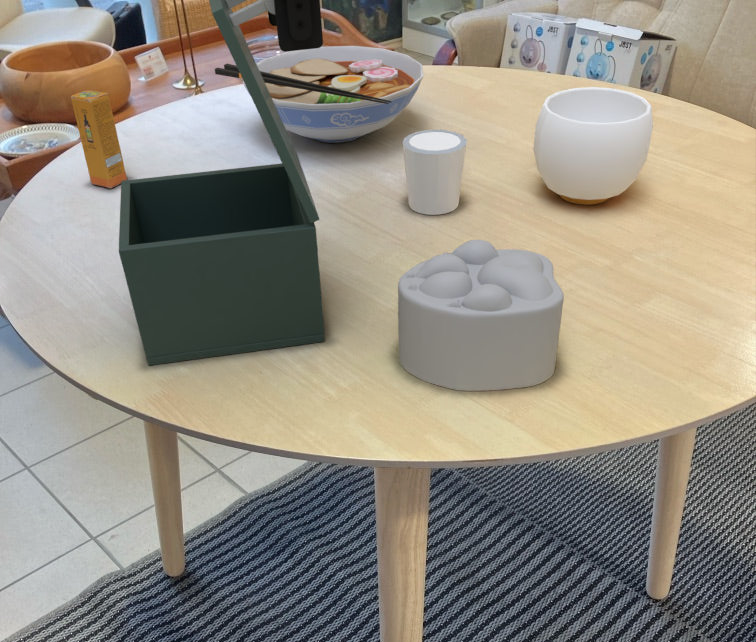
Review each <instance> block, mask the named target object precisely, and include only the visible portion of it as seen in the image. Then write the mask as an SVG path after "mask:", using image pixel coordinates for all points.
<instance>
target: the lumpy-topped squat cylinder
mask: <svg viewBox="0 0 756 642" xmlns="http://www.w3.org/2000/svg"><path fill="white" fill-rule="evenodd" d="M558 283H559V282H557V280H556V279H555V275H554V265H553V262H552V261H551V260H550V259H549V257H547V256H545V255H543V254H541V253H537V252H534V251H530V250H527V249H517V248H516V249H515V248H509V249H508V248H505V249H503V248H502V249H499V248H498V249H496V247H495V246H494V245H493V244H492V243H491V242H489V241H488V240H484V239H471V240H467V241H465V242H464V243H462V244H461V245H459V246H458V247H456V248H455V249H453V251H452V252H443V253H441V254H438V255H434V256H433V257H431V258H429V259H426V260H424V261H421V262H419V263H417V264H416V265H414V266H412V267H411V268H410V269H408V270H407V271H406V272H405V273H403V274H402V276H401V277H400V278H399V281H398V284H397V307H398V308H397V309H398V310H397V314H398V315H397V316H398V317H397V321H398V322H397V323H398V325H397V326H398V331H397V332H398V362H399V363H400V365H401V367H402V369H404V370H405V371H406V372H408V373H409V374H411V375H412V376H414V377H416V378H417V379H419V380H422V381H423V382H426V383H428V384H432V385H436V386H438V387H443V388H446V389H451V390H454V391H463V392H464V391H465V392H467V391H468V392H471V391H472V392H477V391H478V392H479V391H480V392H482V391H503V390H512V389H521V388H528V387H534V386H537V385H540V384H542V383H544V382H546V381H548V380H549V379H551V378H552V377H553V375H554V373H555V367H556V360H557V354H558V353H557V352H558V344H559V336H560V331H561V324H562V314H563V305H564V301H565V300H564V299H565V295H564V291H563V289H562V287H561V285H559V284H558Z"/></svg>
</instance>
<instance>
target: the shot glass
mask: <svg viewBox="0 0 756 642" xmlns="http://www.w3.org/2000/svg"><path fill="white" fill-rule="evenodd" d="M467 143H468V140H467V138H466V137H465V136H464V135H463V134H461V133H458V132H456V131H452V130H446V129H426V130H425V129H424V130H418V131H416V132H413V133H410V134H408V135H406V136H405V137H404V138H403V141H402V150H403V151H402V152H403V160H404V162H403V163H404V172H405V182H406V191H407V202H408V207H409V208H410V209H411V210H412V211H414V212H415V213H418V214H422V215H427V216H429V215H430V216H438V215H446V214H448V213H451V212H453V211H455V210H456V209H458V207H459V202H460V196H461V187H462V180H463V172H464V165H465V158H466V150H467Z"/></svg>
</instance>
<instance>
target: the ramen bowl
mask: <svg viewBox="0 0 756 642" xmlns="http://www.w3.org/2000/svg"><path fill="white" fill-rule="evenodd" d="M256 64H257V67H258V69H259V71H260V73H261V75H262V78H263V80H264V82H265V84H266V86H267V89H268V91H269V93H270V95H271V98H272V100H273V102H274V104H275V106H276V109H277V111H278V113H279V115H280V117H281V120H282V122H283V124H284V126H285V128H286V131H287V132H290V133H293V134H295V135H298V136H301V137H305V138H309V139H312V140H315V141H319V142H323V143H328V144H335V143H336V144H337V143H338V144H339V143H347V142H352V141H354V140H357V139H359V138H361V137H363V136H365V135H367V134H371V133H373V132H375V131H378V130H380V129H383V128H385V127H386V126H388V125H389V124H390V123H392V122H393V121H394V120H395V119H396V118H397V117H398V116H400V114H401V113H402V112H404V109H406V107H407V106H408V105H409V104H410V102H411V101H412V99H413V98H414V96H415V94H416V93H417V91H418V89H419V87H420V85H421V82H422V80H423V78H424V69H423V68H424V67H423V64H422V63H421V62H420V61H417V60H416V59H415V58H413V57H411V55H408V54H405V53H402V52H399V51H394V50H391V49H387V48H383V47H372V46H363V45H334V46H333V45H332V46H331V45H330V46H329V45H328V46H321V47H320V48H315V49H306V50H297V51H287V52H283V53H280V54H277V55H273V56H271V57H266V58H263V59H261V60H260V61H259V62H256ZM214 74H215V75H219V76H224V77H230V78H235V79H242V81H241V82H242V84H243V86H244V88H245V89H246V91H247V93H248V94H249V96H250V97H251V95H250V93H249V91H248V89H247V87H246V85H245V83H244V80H243V78H242V76H241V74H240V72H239V70H238V68H237V66H236V64H231V63H225V64H223V68H222V67H216V68H214Z"/></svg>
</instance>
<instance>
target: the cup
mask: <svg viewBox="0 0 756 642" xmlns="http://www.w3.org/2000/svg"><path fill="white" fill-rule="evenodd" d="M653 119H654V118H653V106H652V105H651V104H650V102H649V101H648V100H647V99H646V98H645V97H643V96H641V95H639V94H637V93H634V92H632V91H627V90H623V89H618V88H614V87H601V86H586V87H585V86H584V87H572V88H569V89H564V90H559V91H556V92H554V93H553V94H550V95H549V96H547V97H546V98H545V100H544V101H543V104H542V106H541V108H540V111H539V114H538V117H537V120H536V122H535V128H534V137H533V148H532V149H533V154H534V159H535V165H536V170H537V172H538V173H539V176H540V177H541V180H543V182H544V184H545V186H546V187H547V189H549V190H550V191H552V192H554V193H555V194H557V195H559V196H560V198H561V199H563V200H565V201H566V202H569V203H572V204H576V205H583V206H584V205H585V206H588V205H590V206H591V205H597V204H602V203H604V202H606V201H608V199H611V198H613V197H617V196H619V195H621V194H622V193H623V192H625V191H627V189H628V188H630V187H631V185H632V184H634V182H636V181H637V179H638V178H639V175H640V173H641V171H642V170H643V167H644V165H645V163H646V161H647V158H648V156H649V150H650V145H651V140H652V134H653V130H654V129H653V128H654V120H653Z"/></svg>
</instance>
